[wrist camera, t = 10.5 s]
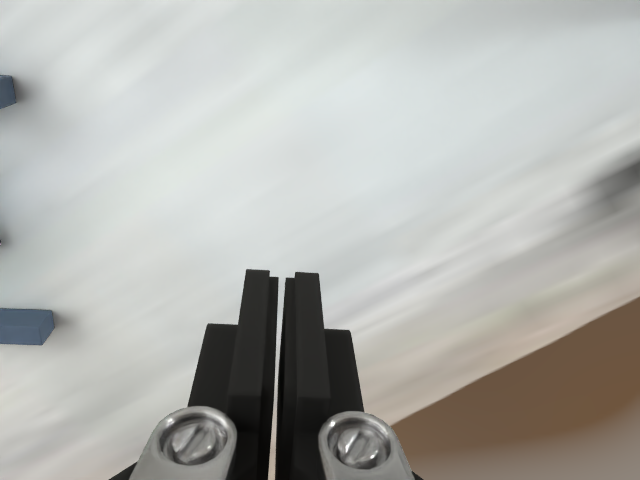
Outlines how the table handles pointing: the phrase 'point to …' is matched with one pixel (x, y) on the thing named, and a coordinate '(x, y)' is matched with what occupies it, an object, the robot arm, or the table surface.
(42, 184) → the table surface
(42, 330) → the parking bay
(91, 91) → the table surface
